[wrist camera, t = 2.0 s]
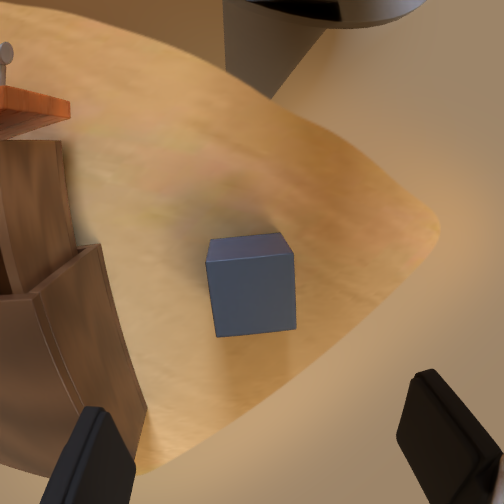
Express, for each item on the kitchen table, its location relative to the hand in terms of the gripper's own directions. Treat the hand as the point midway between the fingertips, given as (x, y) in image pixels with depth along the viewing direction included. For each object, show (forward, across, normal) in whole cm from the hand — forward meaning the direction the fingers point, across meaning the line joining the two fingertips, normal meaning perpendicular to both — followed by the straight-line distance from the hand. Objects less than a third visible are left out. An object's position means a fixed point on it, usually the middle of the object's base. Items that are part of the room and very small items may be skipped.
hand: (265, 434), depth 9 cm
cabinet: (+14, +16, +4) cm, 21 cm away
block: (+14, 0, -1) cm, 14 cm away
